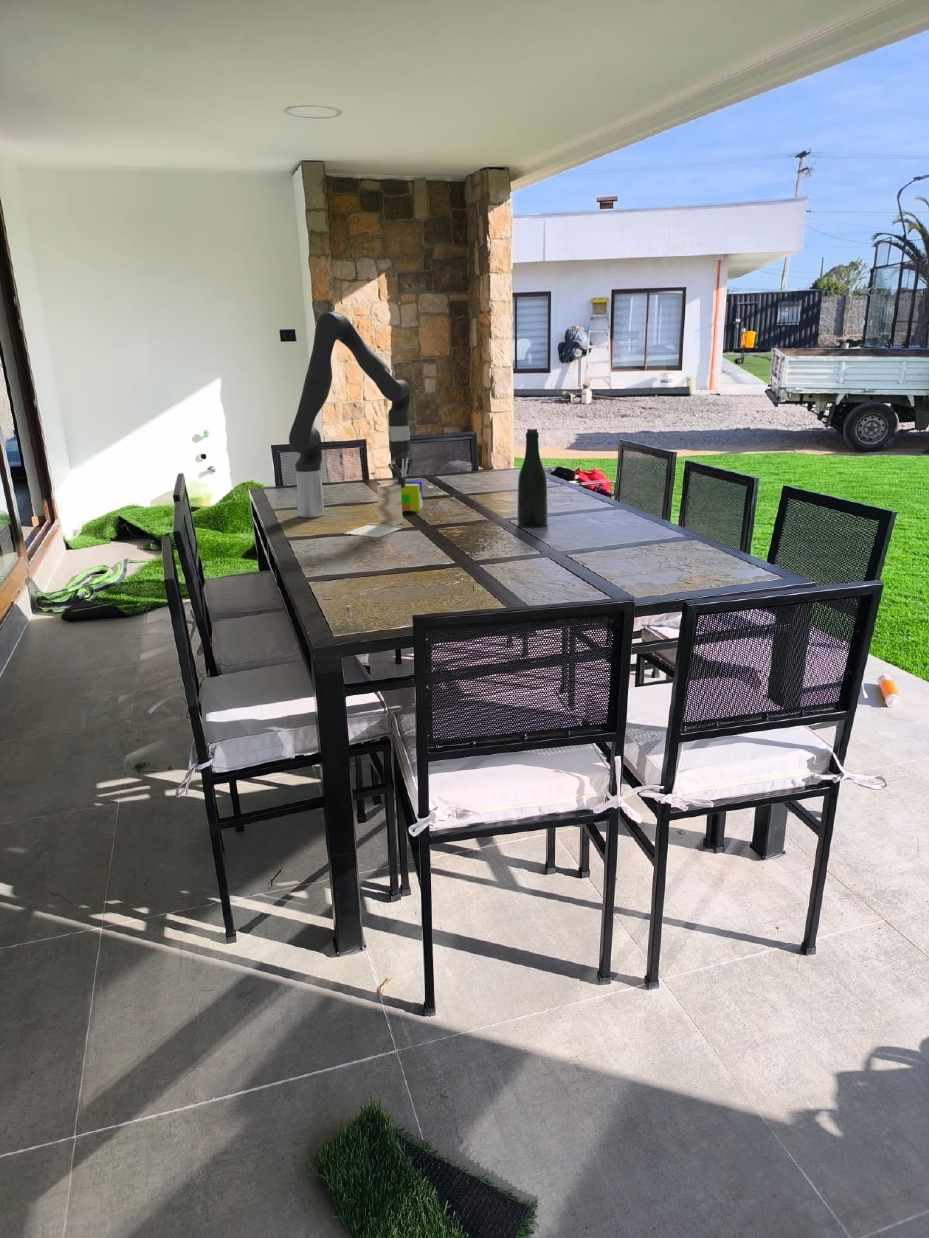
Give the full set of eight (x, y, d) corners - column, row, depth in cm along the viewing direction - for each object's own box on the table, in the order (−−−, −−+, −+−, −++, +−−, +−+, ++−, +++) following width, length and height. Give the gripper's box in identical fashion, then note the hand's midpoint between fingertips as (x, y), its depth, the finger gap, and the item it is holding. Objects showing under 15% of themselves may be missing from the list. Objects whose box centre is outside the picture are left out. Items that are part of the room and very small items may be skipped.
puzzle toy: (422, 506, 330) (421, 481, 326) (419, 511, 320) (417, 485, 317) (397, 506, 331) (396, 481, 327) (393, 511, 321) (391, 485, 318)
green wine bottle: (513, 527, 289) (512, 429, 278) (522, 521, 298) (522, 426, 287) (542, 529, 285) (542, 430, 274) (551, 522, 294) (551, 426, 283)
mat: (344, 534, 286) (344, 531, 286) (369, 525, 299) (369, 523, 299) (378, 537, 280) (378, 535, 280) (402, 528, 292) (402, 526, 292)
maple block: (379, 526, 297) (377, 486, 293) (388, 522, 302) (386, 483, 298) (393, 527, 294) (391, 487, 290) (402, 523, 299) (400, 484, 295)
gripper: (400, 436, 303) (403, 484, 309) (380, 440, 292) (383, 490, 298) (418, 436, 300) (420, 485, 305) (398, 441, 289) (400, 491, 294)
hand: (401, 487), depth 301 cm, fingers closed
